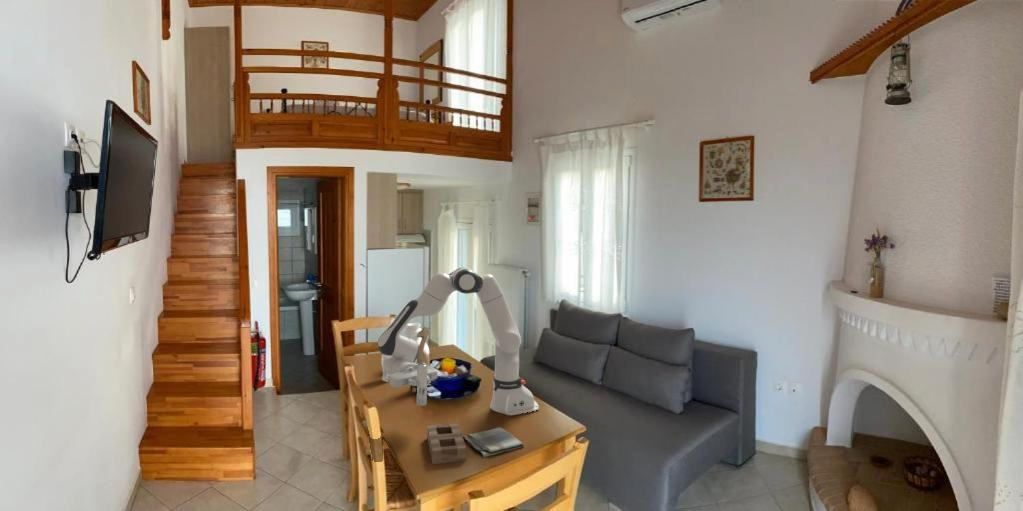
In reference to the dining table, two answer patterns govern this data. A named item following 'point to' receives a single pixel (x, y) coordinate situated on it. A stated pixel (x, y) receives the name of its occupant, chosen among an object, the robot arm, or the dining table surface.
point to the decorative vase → (415, 335)
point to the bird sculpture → (422, 350)
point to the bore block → (446, 443)
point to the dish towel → (493, 441)
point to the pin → (422, 384)
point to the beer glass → (383, 369)
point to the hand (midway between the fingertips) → (423, 382)
